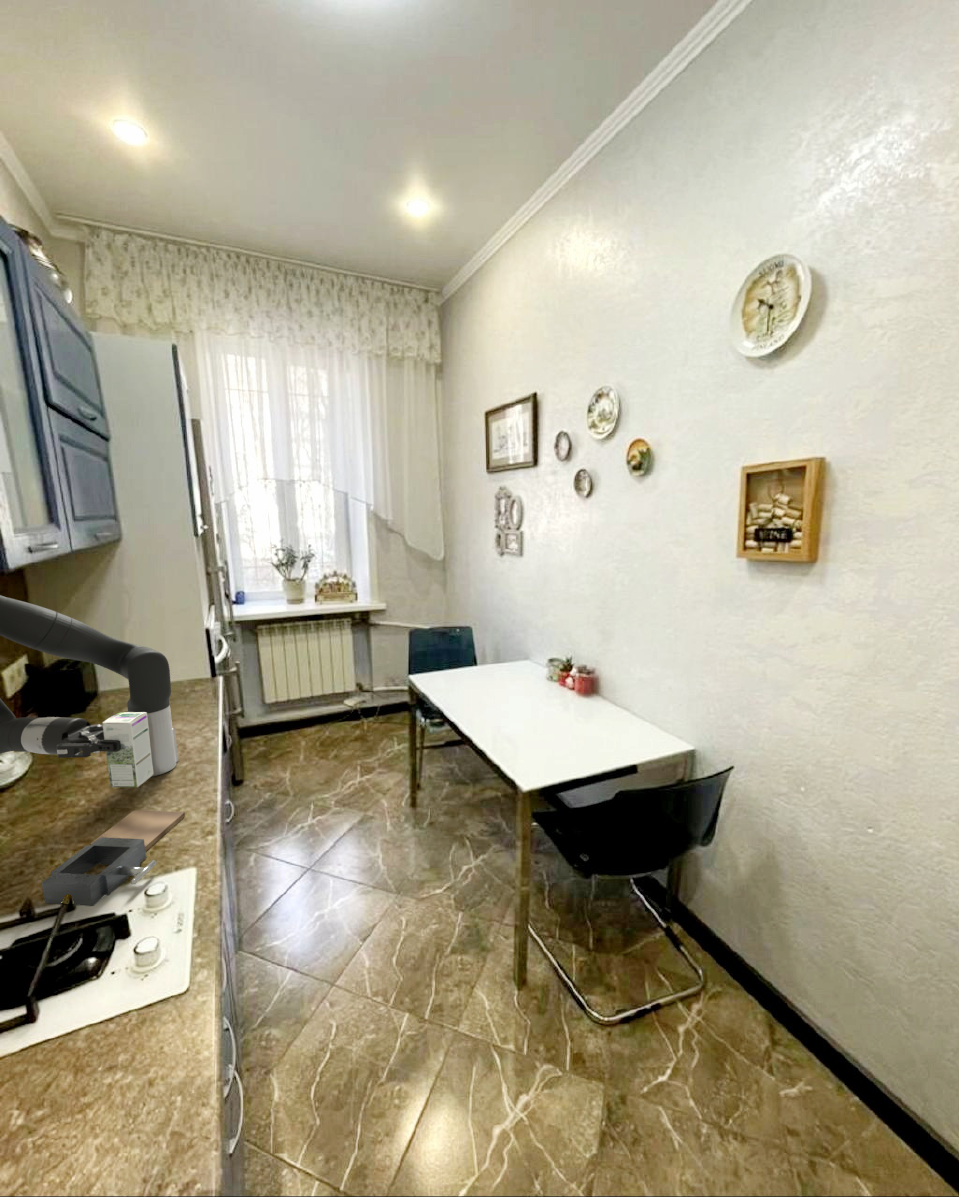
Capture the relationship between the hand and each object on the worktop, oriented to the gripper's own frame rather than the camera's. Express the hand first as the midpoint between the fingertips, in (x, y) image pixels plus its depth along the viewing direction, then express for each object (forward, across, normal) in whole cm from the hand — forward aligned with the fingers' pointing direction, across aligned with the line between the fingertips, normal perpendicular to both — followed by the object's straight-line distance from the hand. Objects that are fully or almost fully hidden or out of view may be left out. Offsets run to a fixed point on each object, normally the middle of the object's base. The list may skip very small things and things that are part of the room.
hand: (131, 738), depth 103 cm
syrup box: (-1, 0, +10) cm, 10 cm away
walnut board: (-1, 0, +21) cm, 21 cm away
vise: (+5, -14, +21) cm, 26 cm away
